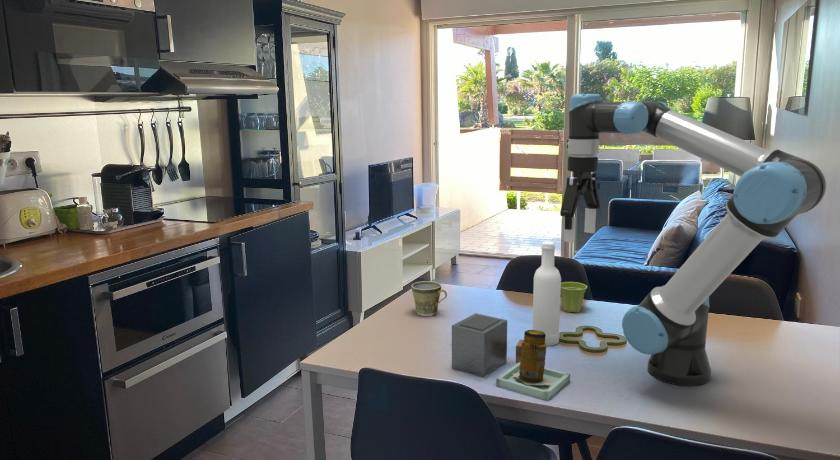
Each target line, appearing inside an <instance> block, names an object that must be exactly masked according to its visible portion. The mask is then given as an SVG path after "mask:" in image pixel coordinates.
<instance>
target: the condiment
mask: <svg viewBox="0 0 840 460" xmlns="http://www.w3.org/2000/svg"><path fill="white" fill-rule="evenodd" d="M545 337H546V334H545V333H544V332H542V331H538V330H532V329H526V330H525V331H524V337H523V340H524V341H523V342H522V350H521V360H520V371H519V374H518V373H513V375H514V376H515V377H516V378H518V379H519V380H520V381H522V382H523V383H524V384H526V385H553V384H552V383H550V382H549V381H548V380H546V379H544V378H543V375H544V367H545V365H546V355H547V346H546V344H545ZM545 368H546V367H545Z"/></svg>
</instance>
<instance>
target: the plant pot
mask: <svg viewBox="0 0 840 460" xmlns="http://www.w3.org/2000/svg"><path fill="white" fill-rule="evenodd" d="M586 289H588V285H586V284H584V283H581V282H578V281H577V282H575V281H563V282H561V295H560V299H561V306H562V308H561V309H562V311H564V312H567V313H577V314H578V313H580V312H581V311H582V306H583V302H584V297H585V293H586Z"/></svg>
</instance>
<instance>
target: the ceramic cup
mask: <svg viewBox="0 0 840 460" xmlns="http://www.w3.org/2000/svg"><path fill="white" fill-rule="evenodd" d="M411 291H412V292H411V293H412V296H413V299H414V304H415V305H414V306H415V311H416V314H417V316H419V315H421V316H420V317H423V316H431V317H434V316H436V315H437V313H438V306H439V304H440V303H441V302H442V301H444V300H445V299H446V298H447V296H448V295H447V294H448V293H447V292H446V290H445V289H442V284H441V282H436V281H430V280H428V281H426V280H423V281H416V282H414V283H412V284H411ZM441 293H444V295H445V296H444V297H443V298H442V299H440V296H441ZM435 314H436V315H435ZM433 315H434V316H433Z"/></svg>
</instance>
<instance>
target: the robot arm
mask: <svg viewBox="0 0 840 460" xmlns="http://www.w3.org/2000/svg"><path fill="white" fill-rule="evenodd" d="M601 96H602V95H600V93H579V94H577V93H575V94H573V95H572V96H571V97H570V100H569V101H570V102H569V110H568V120H569V121H568V129H569V130H568V142H567V143H566V146H568V147H567V149H568V151H567V153H568V155H570V156H568V157H567V170H568V172H572V176H567V177H566V186H565V191H564V195H563V198H562V199H563V200H562V203H561V208H560V212H559V213H560V217H564V218H563V219H564V220H563V242H567V243H575V242H576V219H577V217H576V216H575V214H576V212H577V208H578V205H579V202H580V199H581V197H582V196H583V199H584V202H585V205H586V208H584V210H585V211H584V214H585V215H584V231H583V232H584V233H589V234H595V233H596V222H597V221H596V219H597V218H596V216H597V210H599V209H601V205H600V204H601V201H600V195H599V189H598V181H597V174H598V173H597V171H598V169H599V157H598V156H597V155H599V153H600V152H599V151H600V150H599V147H600V133H601V134H603V133H604V134H605V133H606V134H623V135H633V134H634V135H635V134H636V135H637V134H641V133H642V132H643V133H646V134H648V135H649V136H652V137H655V138H657V139H660V141H663V142H665V143H668V144H670V145H672V146H674V147H676V148H679V149H681V150H683V151H685V152H687V153H690V154H691V155H693V156H696V157H698V158H700V159H702V160H705V161H706V162H708V163H710V164H712V165H714V166H716V167H719V168H721V169H723V170H725V171H727V172H730V173H731V174H734V175H736V176H738V177H739V178H738V180H737V182H736V183H735V186H734V189H733V195H732V196H731V197H730V198H729V199H728V200H727V202H726V204H725V207H726V211H727V212H726V214H725V216H724V217H723V218H721V220H720V221H719V223H718V224H717V225H716V226H715V227H714V228H713V230H712V231H710V233H709V234H708V235H707V236H706V237H705V239H704V240H703V241H702V242H701V243H700V244H699V245H698V246H697V248H696V249H695V250H694V251H693V252H692V253H691V255H689V257H688V258H687V259H686V261H685V262H684V263H683V264H682V265H681V266H680V267H679V269H678V270H677V271H676V272H675V273H674V275H673V276H671V278H670V279H669V280H668V281H667V283H666V284H665V285H662V286H656V287H654V288H653V289H652V290H651V291H650V292H649V293H648V294H647V295H646V296H645V297H644V299H642V301H641V302H640V303H639V304H638V305H636V306H633V307H631V308H629V309H628V310H627V311H626V312H625V313H624V315H623V317H622V322H621V328H622V331H623V335H624V338H625V340H626V341H627V342H628V344H629V345H630V346H631V347H632V348H633V349H634V350H635V351H637V352H638V353H641V354H644V355H650V356H649V358H648V361H647V372H648V373H649V374H650V375H651V376H652V377H653V376H654V377H653V378H655V379H657V380H660V381H662V382H664V381H665V383H668V384H671V385H677V384H679V385H678V386H685V385H694V386H699V384H701V385H704V384H703V383H705V384H706V382H707V383H708V382H709V381H711V373H712V369H711V368H712V367H711V364H710V362H709V361H710V360H709V357H708V353H707V349H706V342H707V331H708V321H709V310H710V307H711V306H710V296H711V295H712V294H713V293H714V292H715V291H716V290H717V289H718V287H719V286H720V285H721V284H723V282H724V281H725V280H726V279H727V278H728V277H729V276H730V275H731V274H732V273H733V271H735V269H736V268H737V267H738V266H739V265H740V264H741V263H742V262H743V261H744V260H745V259H746V258H747V257H748V256H749V254H750V253H752V251H753V250H754V249H755V248H756V247H757V246H758V245H759V243H761V242H762V241H763V240H764V239H774V238H776V237H777V236H778V235H780V233H781V232H782V231H783V230H784V229H785V228H786V227H787V226H788V225H789V224H790V223H791V222H792V221H793V220H794V219H795V217H797V216H798V215H801V214H805V213H807V212H809V211H812V210H814V208H816V207H817V206H818V205H819V204H820V203H821V202H822V200H823V198H824V196H825V194H826V191H827V181H826V178H825V177H826V176H825V175H824V173H823V172H822V170H821V169H820V168H819V166H817V165H816V164H815V163H813V162H811V161H810V160H806V159H804V158H802V157H799V156H796V155H794V154H791V153H788V152H786V151H783V150H780V149H779V148H778V149H777V148H776V149H772V150H768V149H765V148H763V147H761V146H758V145H755V144H753V143H752V142H749V141H747V140H744V139H742V138H739V137H738V136H735V135H733V134H730V133H727V132H726V131H722V130H720V129H718V128H716V127H713V126H711V125H709V124H706V123H704V122H702V121H699V120H697V119H695V118H692V117H690V116H687V115H685V114H682V113H680V112H678V111H675V110H673V109H671V108H670V107H669V106H668V104H666V103H664V102H662V101H658V100H647V101H645V100H643V101H641V100H640V101H635V100H634V101H633V100H625V101H602V97H601ZM673 383H674V384H673Z"/></svg>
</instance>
